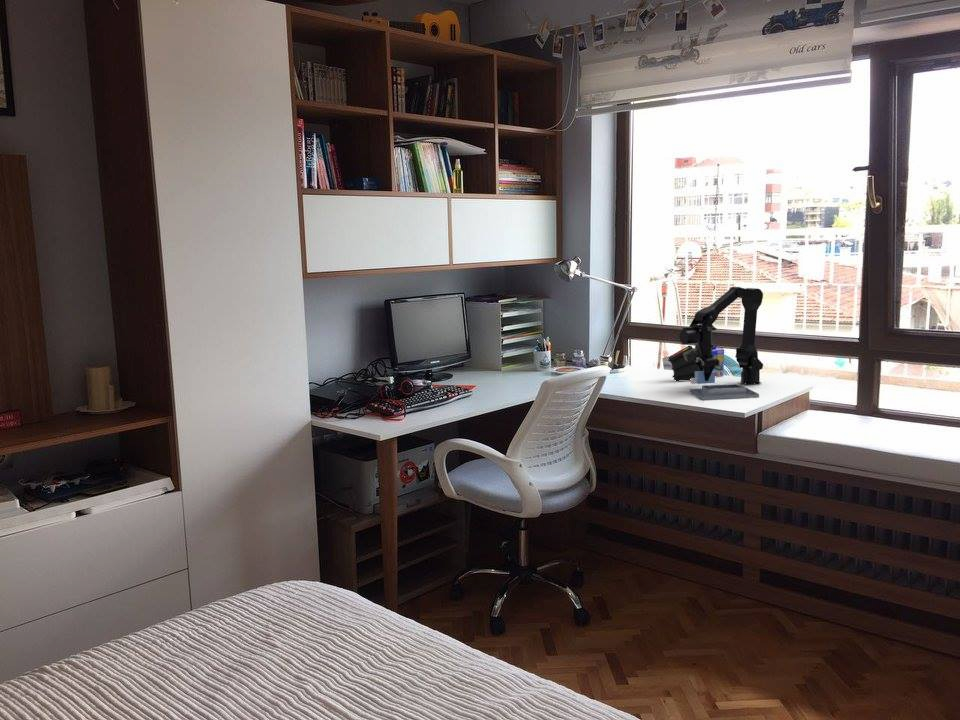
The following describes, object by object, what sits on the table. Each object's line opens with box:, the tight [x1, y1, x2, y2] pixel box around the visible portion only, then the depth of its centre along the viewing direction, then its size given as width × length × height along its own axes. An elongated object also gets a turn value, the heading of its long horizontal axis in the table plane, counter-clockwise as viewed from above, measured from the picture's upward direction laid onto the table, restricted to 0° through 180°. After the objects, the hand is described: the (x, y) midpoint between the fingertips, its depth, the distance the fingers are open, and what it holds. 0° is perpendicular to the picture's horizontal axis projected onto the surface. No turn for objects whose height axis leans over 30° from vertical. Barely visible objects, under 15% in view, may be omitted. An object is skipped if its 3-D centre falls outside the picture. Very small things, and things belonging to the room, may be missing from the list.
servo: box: [690, 371, 716, 385], centre depth 329 cm, size 9×4×5 cm, turn 93°
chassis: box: [689, 383, 760, 401], centre depth 318 cm, size 22×16×3 cm
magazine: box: [667, 344, 699, 382], centre depth 351 cm, size 4×13×15 cm, turn 97°
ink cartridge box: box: [712, 343, 725, 377], centre depth 357 cm, size 10×6×14 cm, turn 111°
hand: (704, 380), depth 329 cm, fingers closed on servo, 4 cm apart
